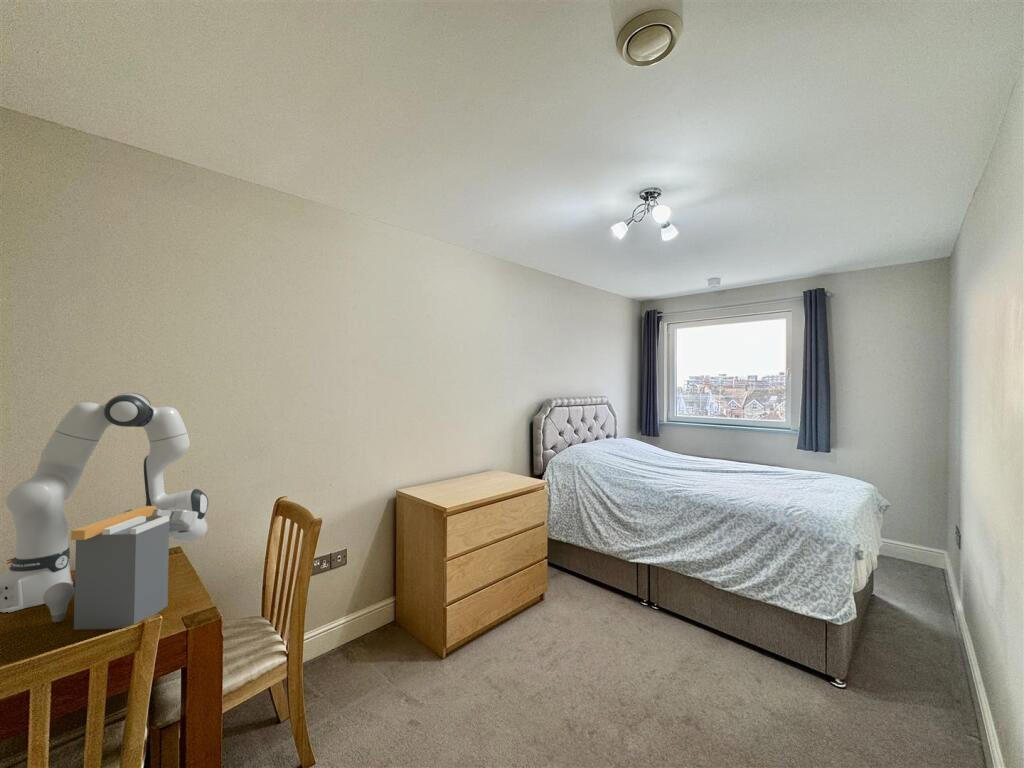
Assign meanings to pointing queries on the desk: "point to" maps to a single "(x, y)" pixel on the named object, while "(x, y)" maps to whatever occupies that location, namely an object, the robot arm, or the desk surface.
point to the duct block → (122, 574)
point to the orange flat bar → (109, 523)
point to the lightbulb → (58, 599)
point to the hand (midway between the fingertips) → (141, 511)
